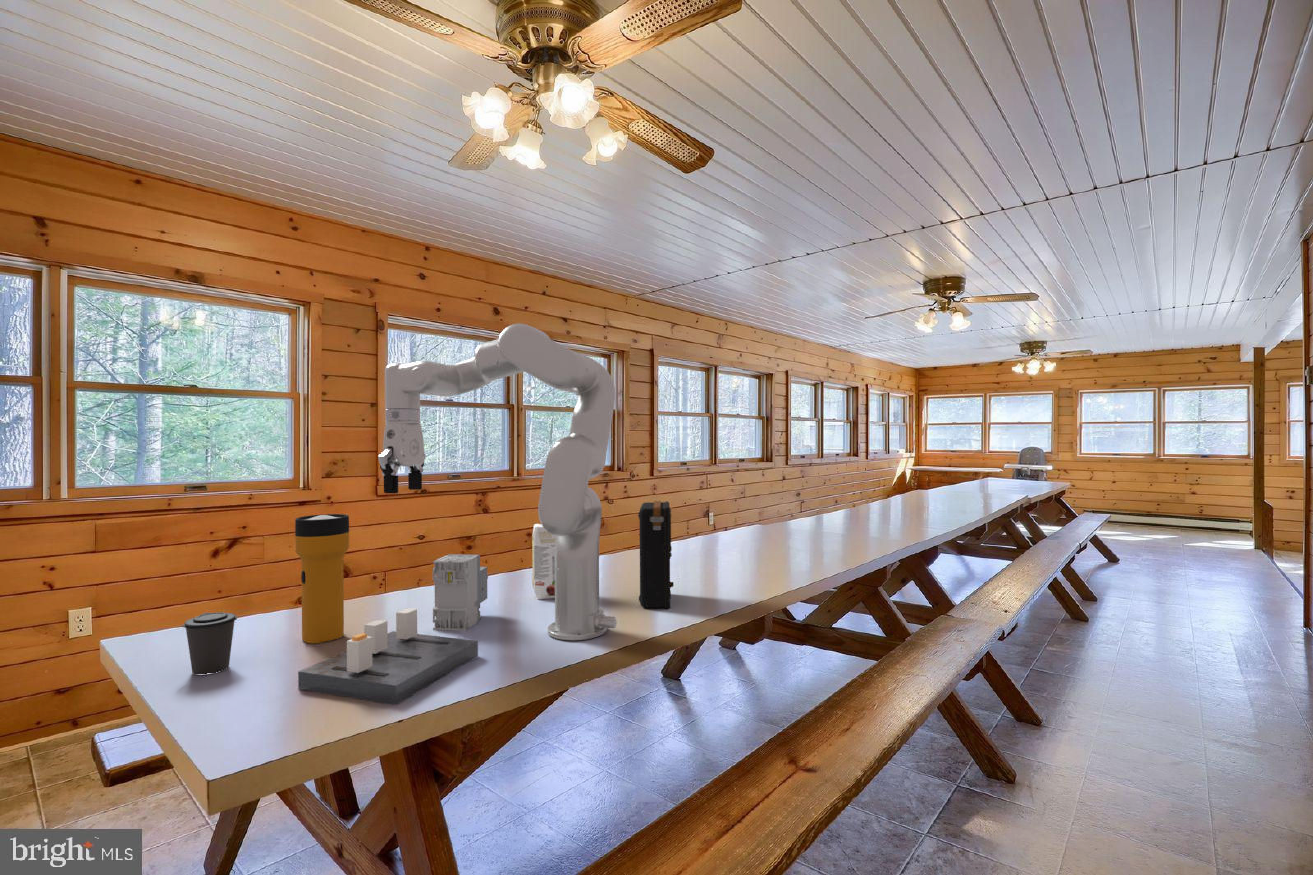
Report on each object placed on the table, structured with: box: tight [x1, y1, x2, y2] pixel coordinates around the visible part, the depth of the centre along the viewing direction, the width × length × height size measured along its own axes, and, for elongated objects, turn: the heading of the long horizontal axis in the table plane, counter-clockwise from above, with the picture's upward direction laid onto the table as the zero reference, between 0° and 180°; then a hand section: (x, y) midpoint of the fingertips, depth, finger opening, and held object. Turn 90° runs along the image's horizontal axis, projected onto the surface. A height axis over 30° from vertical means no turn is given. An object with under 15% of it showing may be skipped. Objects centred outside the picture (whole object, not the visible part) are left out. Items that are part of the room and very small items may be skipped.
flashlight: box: [294, 513, 350, 644], centre depth 128 cm, size 10×26×10 cm
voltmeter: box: [637, 500, 674, 610], centre depth 155 cm, size 16×9×25 cm, turn 179°
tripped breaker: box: [346, 632, 372, 673], centre depth 101 cm, size 2×3×6 cm
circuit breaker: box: [432, 553, 489, 631], centre depth 140 cm, size 8×14×15 cm, turn 174°
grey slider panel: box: [297, 630, 479, 705], centre depth 109 cm, size 20×22×3 cm
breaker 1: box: [363, 619, 388, 654], centre depth 110 cm, size 2×3×5 cm
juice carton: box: [531, 523, 556, 600], centre depth 161 cm, size 8×9×19 cm
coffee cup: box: [182, 611, 238, 674], centre depth 110 cm, size 8×8×10 cm
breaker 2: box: [395, 607, 418, 639], centre depth 118 cm, size 2×3×5 cm
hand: (403, 491), depth 140 cm, fingers open, 9 cm apart
